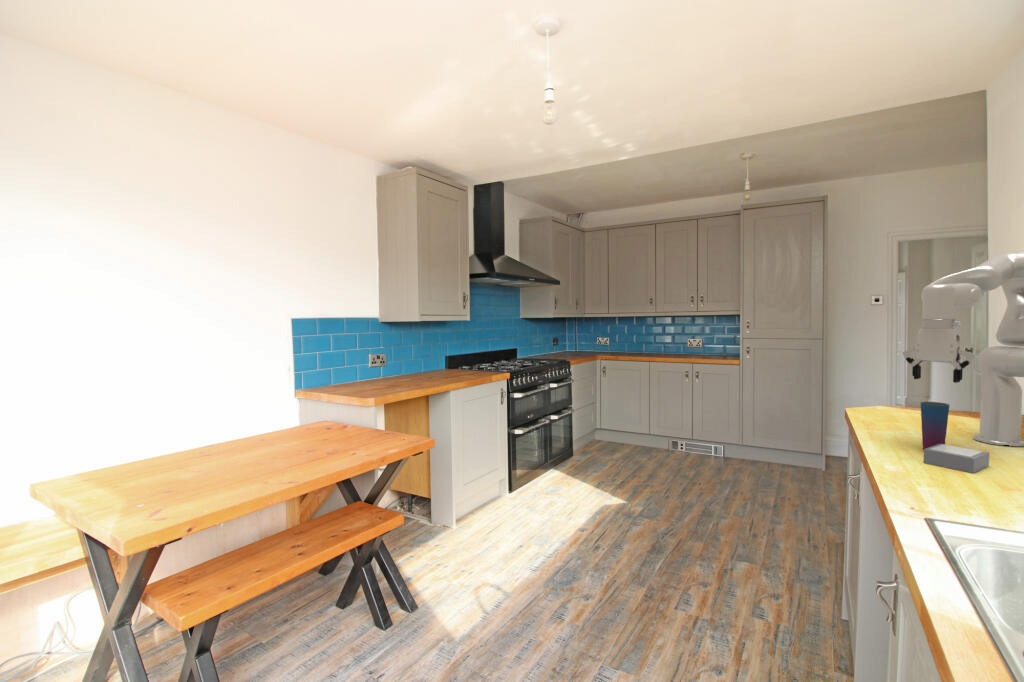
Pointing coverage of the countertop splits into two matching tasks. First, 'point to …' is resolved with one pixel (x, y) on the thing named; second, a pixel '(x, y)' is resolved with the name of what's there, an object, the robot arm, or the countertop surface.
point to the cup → (934, 423)
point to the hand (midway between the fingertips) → (936, 380)
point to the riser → (956, 458)
